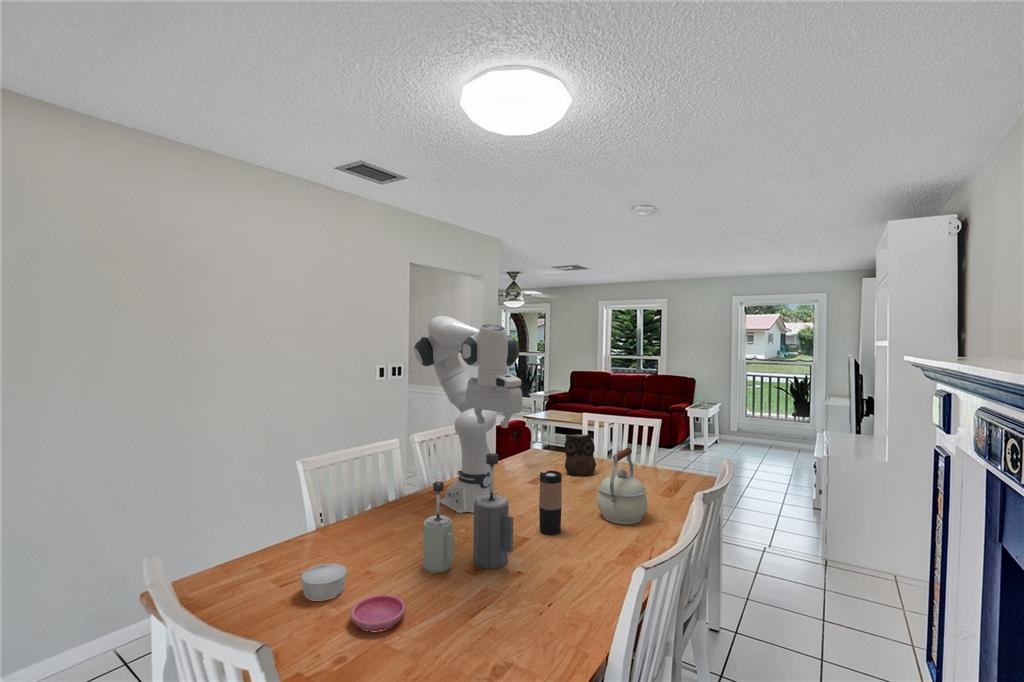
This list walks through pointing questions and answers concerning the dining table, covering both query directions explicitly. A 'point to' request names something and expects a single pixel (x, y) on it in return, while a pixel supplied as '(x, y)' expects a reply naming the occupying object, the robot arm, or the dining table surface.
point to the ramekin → (323, 581)
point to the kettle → (622, 494)
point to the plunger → (491, 471)
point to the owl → (579, 455)
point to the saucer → (378, 612)
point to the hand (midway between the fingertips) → (492, 425)
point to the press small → (438, 544)
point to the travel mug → (550, 502)
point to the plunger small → (438, 495)
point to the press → (492, 532)
